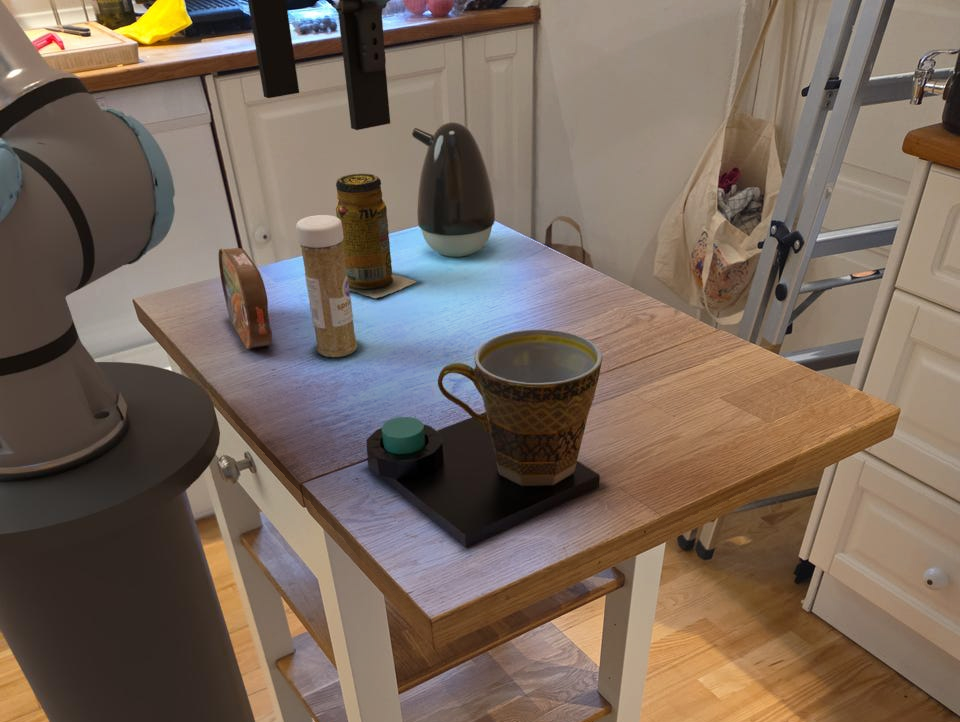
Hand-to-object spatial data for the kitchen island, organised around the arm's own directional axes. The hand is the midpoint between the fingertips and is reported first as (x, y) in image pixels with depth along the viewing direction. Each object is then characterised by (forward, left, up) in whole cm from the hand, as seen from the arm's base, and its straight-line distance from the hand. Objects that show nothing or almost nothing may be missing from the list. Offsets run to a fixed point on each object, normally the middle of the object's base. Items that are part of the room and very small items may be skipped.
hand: (323, 110), depth 65 cm
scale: (+13, +4, -27) cm, 30 cm away
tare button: (+8, 0, -24) cm, 25 cm away
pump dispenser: (-35, +35, -27) cm, 56 cm away
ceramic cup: (+15, +6, -26) cm, 30 cm away
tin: (-28, +2, -27) cm, 39 cm away
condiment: (-32, +20, -27) cm, 46 cm away
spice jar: (-18, +7, -27) cm, 33 cm away
